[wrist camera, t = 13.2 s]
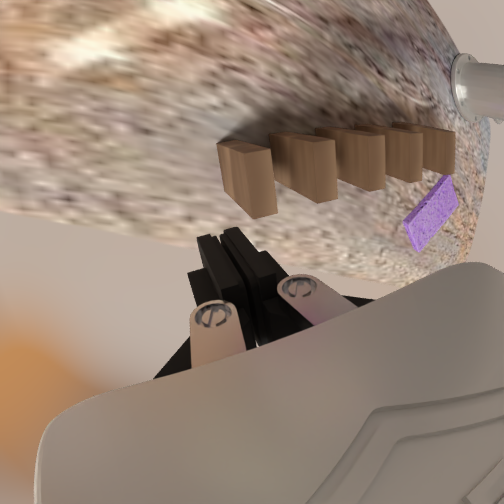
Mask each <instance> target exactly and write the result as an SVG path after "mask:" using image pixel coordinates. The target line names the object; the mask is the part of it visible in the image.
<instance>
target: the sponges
mask: <svg viewBox="0 0 504 504" xmlns="http://www.w3.org/2000/svg"><path fill="white" fill-rule="evenodd" d="M458 205H459V204H458V200H457V197H456V193H455V192H454V188H453V183H452V180H451V176H450V175H443V177H442V178H441V179H440V180H439V181H438V182H437V184H436V185H435V186H434V187H433V188H432V189H431V191H430V192H429V193H428V194H427V195H426V196H425V197H424V199H423V200H422V201H421V202H420V203H419V204H418V206H416V207H415V208H414V210H413V211H412V212H411V213H410V214H409V215H408V216H407V217H406V218H405V219H404V220H403V224H404V226H405V229H406V231H407V234H408V236H409V238H410V241H411V243H412V246H413V248H414V250H416V251H418V252H419V253H420V251H421V250H422V249H423V248H424V246H425V245H426V244H427V243H428V241H429V240H430V238H431V237H433V235H434V234H435V233H436V232H437V231H438V229H440V227H441V226H442V225H443V224H444V223H445V221H446V220H447V219H448V218H449V216H450V215H451V214H452V212H453V211H454V210H455V209H456V208H457V206H458Z"/></svg>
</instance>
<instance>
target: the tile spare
mask: <svg viewBox="0 0 504 504" xmlns="http://www.w3.org/2000/svg"><path fill="white" fill-rule="evenodd" d="M392 126H393V128H398V129H403V130H409V131H414V132H420V133H423V164H422V168H425V169H428V170H431V171H434V172H437V173H440V174H443V175H449V174H454V169H455V132H453V131H449V130H444V129H439V128H434V127H429V126H423V125H417V124H411V123H405V122H393V123H392Z"/></svg>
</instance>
